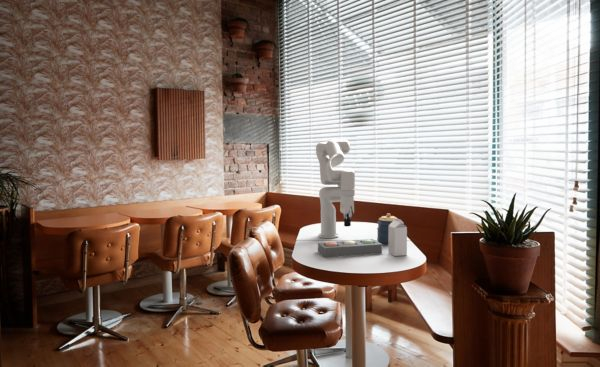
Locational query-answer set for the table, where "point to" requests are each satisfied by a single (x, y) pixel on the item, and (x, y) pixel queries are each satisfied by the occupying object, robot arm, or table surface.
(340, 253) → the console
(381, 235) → the canister
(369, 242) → the button sage
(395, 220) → the milk carton
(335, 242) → the button terracotta
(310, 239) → the table surface
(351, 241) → the button cream
